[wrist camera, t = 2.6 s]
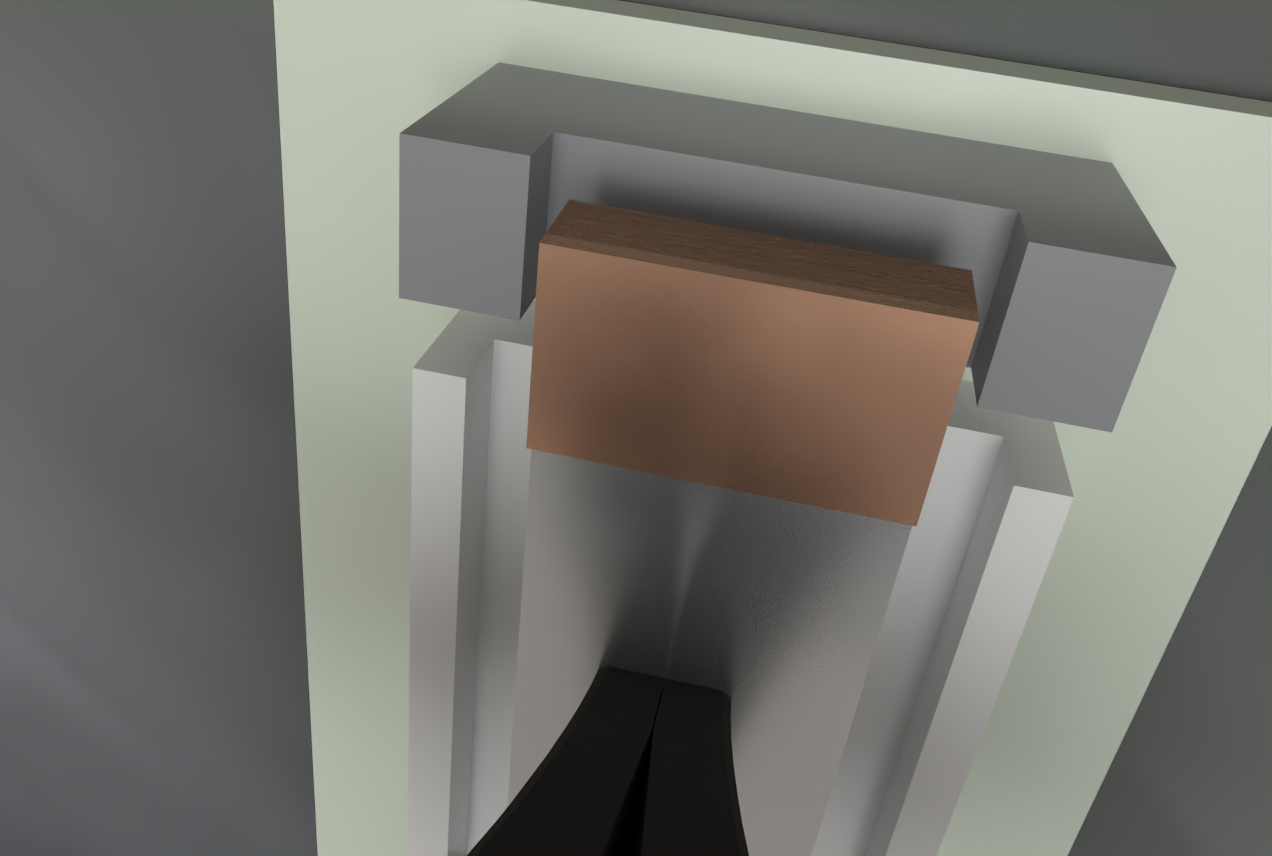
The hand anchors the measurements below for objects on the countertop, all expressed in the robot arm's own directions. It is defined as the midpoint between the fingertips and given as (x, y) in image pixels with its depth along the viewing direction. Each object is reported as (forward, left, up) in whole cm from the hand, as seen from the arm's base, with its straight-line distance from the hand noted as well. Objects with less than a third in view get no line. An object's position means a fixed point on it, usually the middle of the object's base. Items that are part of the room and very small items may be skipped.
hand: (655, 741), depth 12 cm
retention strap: (-2, 0, -1) cm, 2 cm away
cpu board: (-2, 0, -4) cm, 5 cm away
